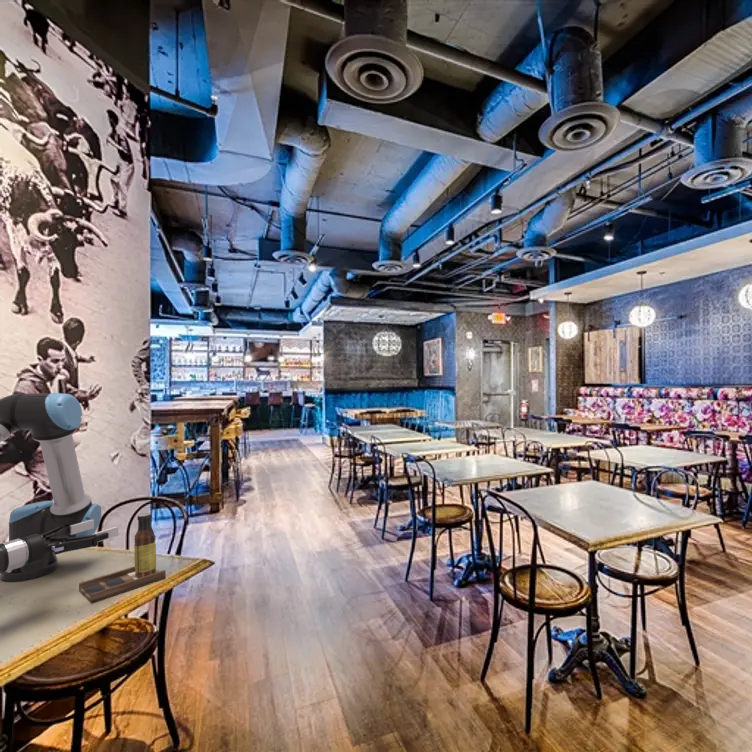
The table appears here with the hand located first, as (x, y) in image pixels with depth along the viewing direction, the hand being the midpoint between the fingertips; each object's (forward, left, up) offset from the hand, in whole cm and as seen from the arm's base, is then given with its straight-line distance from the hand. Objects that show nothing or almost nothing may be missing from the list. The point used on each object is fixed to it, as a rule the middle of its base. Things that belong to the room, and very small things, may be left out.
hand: (105, 527), depth 131 cm
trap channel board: (+1, +5, -19) cm, 20 cm away
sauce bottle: (+1, +12, -18) cm, 22 cm away
